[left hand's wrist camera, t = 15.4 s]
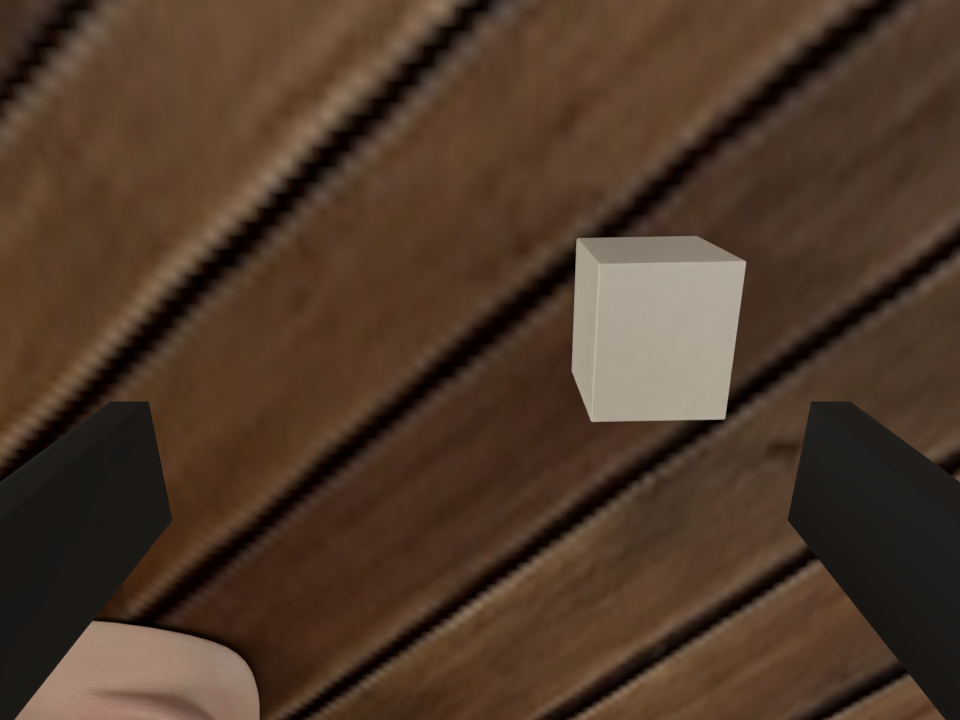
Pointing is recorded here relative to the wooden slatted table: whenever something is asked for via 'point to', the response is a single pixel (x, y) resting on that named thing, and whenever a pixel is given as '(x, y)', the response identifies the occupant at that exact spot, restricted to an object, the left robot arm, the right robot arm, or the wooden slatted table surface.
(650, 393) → the block
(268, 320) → the wooden slatted table surface
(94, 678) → the anatomical model
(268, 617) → the wooden slatted table surface
